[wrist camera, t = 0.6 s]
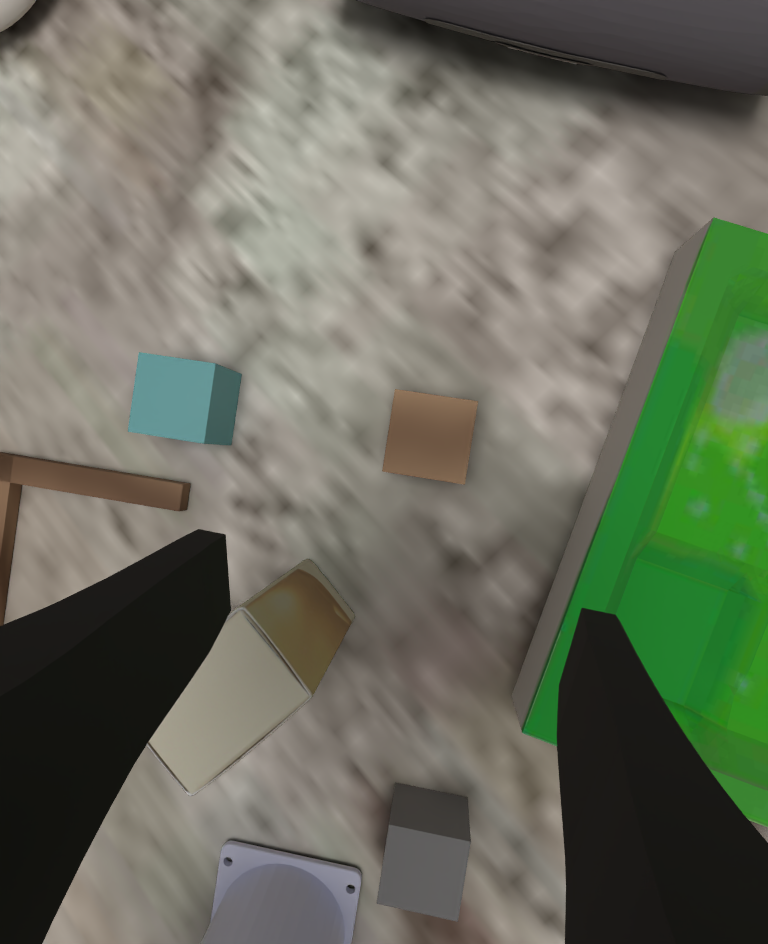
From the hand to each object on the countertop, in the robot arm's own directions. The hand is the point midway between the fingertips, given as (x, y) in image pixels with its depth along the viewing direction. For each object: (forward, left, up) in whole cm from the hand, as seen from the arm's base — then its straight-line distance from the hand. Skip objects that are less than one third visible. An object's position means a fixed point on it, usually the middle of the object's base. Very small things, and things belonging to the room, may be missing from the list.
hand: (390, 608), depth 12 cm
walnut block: (+4, 0, -21) cm, 22 cm away
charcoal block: (-17, -3, -21) cm, 27 cm away
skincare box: (-7, +6, -21) cm, 23 cm away
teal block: (+4, +13, -21) cm, 25 cm away
